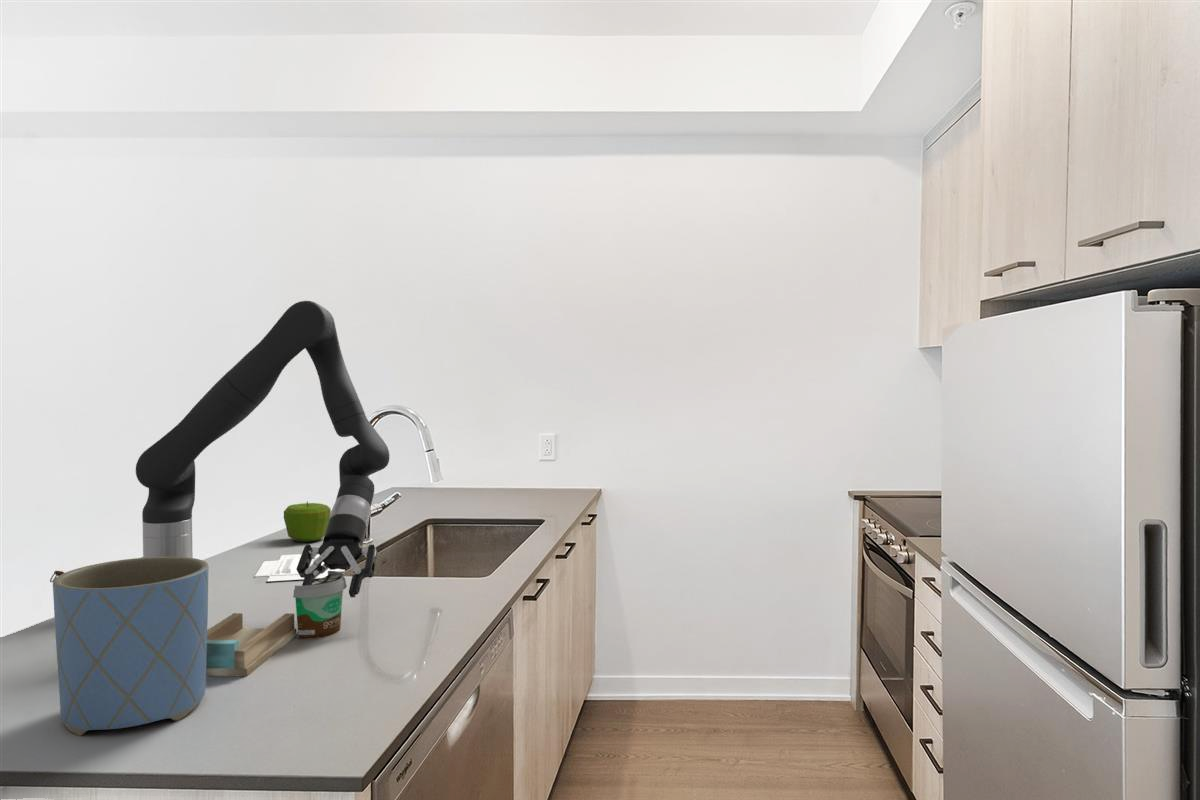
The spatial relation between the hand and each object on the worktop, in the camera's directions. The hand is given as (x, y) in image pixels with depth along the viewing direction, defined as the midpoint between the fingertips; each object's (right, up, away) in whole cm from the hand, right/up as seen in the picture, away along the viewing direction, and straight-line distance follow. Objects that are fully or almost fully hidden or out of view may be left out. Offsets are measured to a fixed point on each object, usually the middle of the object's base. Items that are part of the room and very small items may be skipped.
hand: (329, 595), depth 149 cm
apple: (-34, -4, +82) cm, 89 cm away
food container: (0, -7, 0) cm, 7 cm away
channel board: (-11, -7, -12) cm, 18 cm away
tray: (-23, -6, +50) cm, 55 cm away
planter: (-16, -8, -35) cm, 39 cm away
